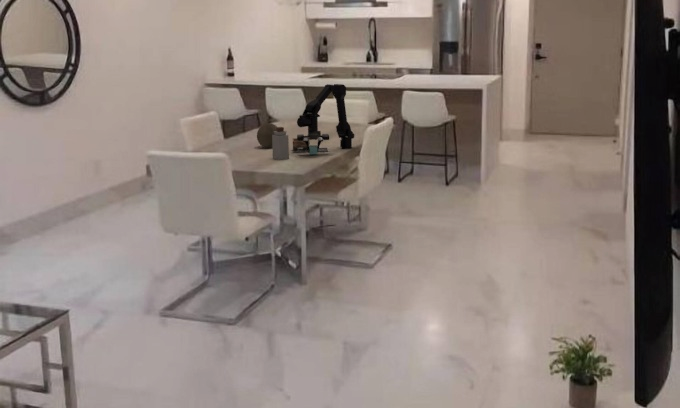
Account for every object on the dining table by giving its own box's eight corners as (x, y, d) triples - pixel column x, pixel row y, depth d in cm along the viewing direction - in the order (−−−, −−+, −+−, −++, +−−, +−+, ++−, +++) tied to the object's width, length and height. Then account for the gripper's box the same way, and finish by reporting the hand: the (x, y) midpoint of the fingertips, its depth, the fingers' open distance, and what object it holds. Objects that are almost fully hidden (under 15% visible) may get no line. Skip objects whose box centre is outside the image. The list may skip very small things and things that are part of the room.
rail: (327, 149, 461) (327, 147, 460) (328, 152, 450) (328, 150, 450) (292, 149, 459) (292, 148, 459) (293, 153, 449) (292, 151, 448)
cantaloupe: (276, 149, 461) (275, 125, 457) (254, 149, 463) (253, 125, 460) (282, 145, 474) (282, 122, 470) (261, 145, 477) (260, 121, 473)
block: (317, 152, 444) (316, 145, 443) (317, 154, 440) (317, 146, 439) (309, 152, 444) (309, 145, 443) (309, 154, 440) (309, 146, 438)
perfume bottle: (279, 160, 428) (277, 128, 423) (272, 158, 433) (271, 127, 429) (289, 158, 432) (288, 127, 427) (282, 156, 437) (281, 126, 432)
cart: (309, 147, 460) (308, 134, 458) (309, 150, 448) (309, 137, 447) (292, 147, 459) (292, 135, 458) (292, 151, 448) (292, 138, 446)
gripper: (296, 127, 429) (297, 154, 433) (329, 127, 431) (329, 153, 434) (296, 124, 440) (297, 151, 444) (328, 124, 441) (328, 150, 445)
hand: (313, 151), depth 442 cm, fingers closed on block, 4 cm apart
